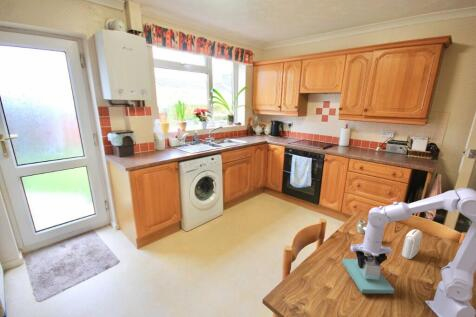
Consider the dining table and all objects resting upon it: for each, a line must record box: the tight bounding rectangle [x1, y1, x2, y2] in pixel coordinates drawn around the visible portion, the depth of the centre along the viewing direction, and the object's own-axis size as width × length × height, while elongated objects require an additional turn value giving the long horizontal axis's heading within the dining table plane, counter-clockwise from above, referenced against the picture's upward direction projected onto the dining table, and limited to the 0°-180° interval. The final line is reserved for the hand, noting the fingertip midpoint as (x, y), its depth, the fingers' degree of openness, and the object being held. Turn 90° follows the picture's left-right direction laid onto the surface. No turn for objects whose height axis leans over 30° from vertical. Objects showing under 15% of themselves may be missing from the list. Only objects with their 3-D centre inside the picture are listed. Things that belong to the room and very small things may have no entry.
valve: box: [356, 219, 367, 235], centre depth 117 cm, size 7×7×12 cm
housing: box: [355, 252, 382, 280], centre depth 87 cm, size 5×9×7 cm, turn 173°
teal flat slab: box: [341, 258, 395, 295], centre depth 88 cm, size 16×12×3 cm
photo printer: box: [401, 229, 423, 260], centre depth 103 cm, size 10×4×12 cm, turn 123°
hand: (367, 267), depth 87 cm, fingers closed on housing, 5 cm apart
